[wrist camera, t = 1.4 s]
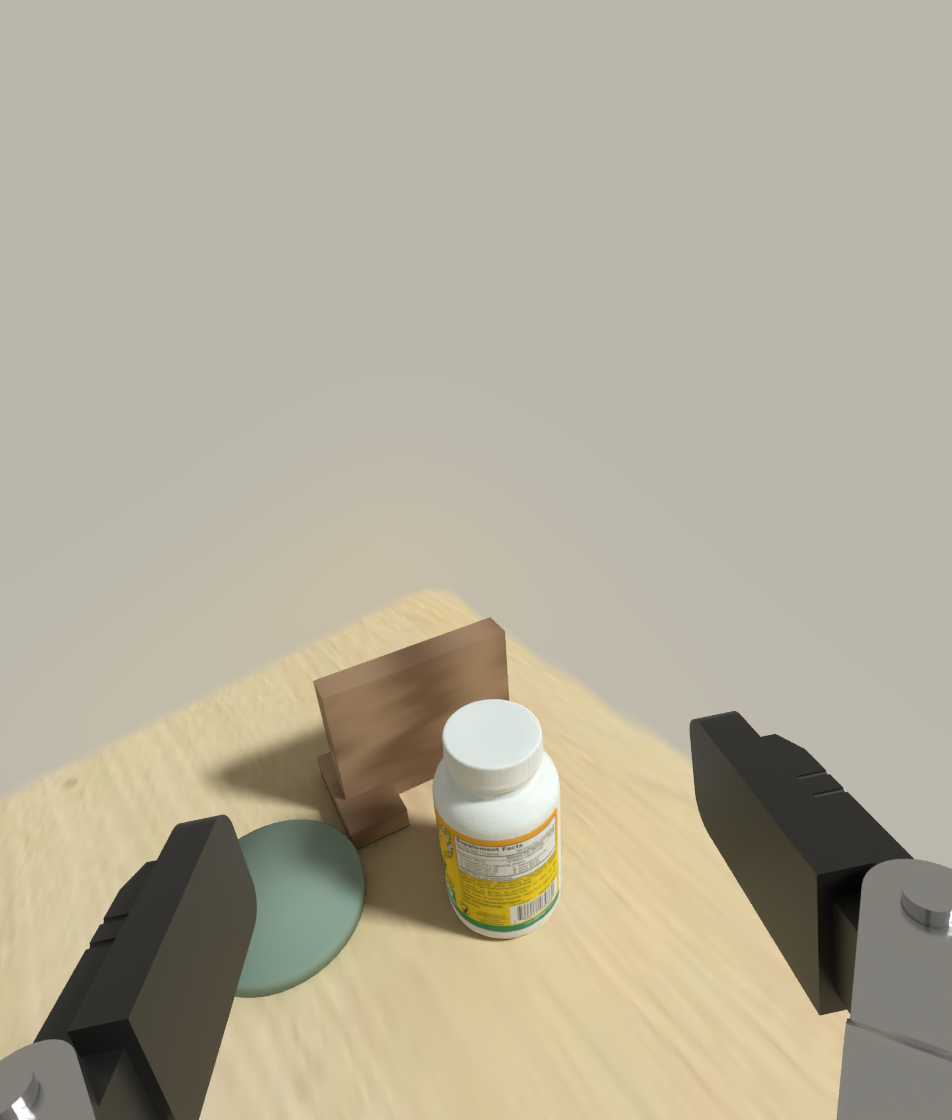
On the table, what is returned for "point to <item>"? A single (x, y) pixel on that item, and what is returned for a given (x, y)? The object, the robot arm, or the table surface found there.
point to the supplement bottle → (498, 819)
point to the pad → (299, 902)
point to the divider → (401, 721)
